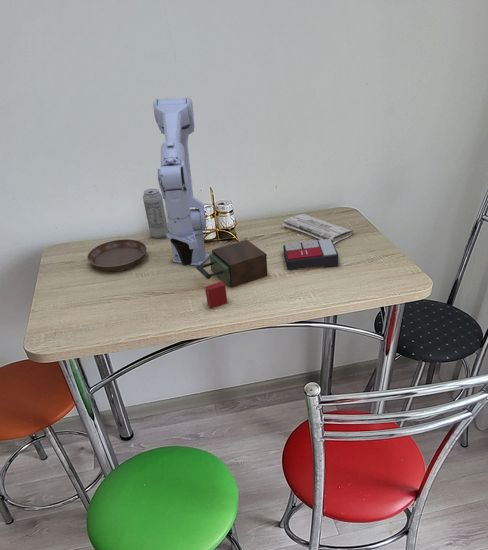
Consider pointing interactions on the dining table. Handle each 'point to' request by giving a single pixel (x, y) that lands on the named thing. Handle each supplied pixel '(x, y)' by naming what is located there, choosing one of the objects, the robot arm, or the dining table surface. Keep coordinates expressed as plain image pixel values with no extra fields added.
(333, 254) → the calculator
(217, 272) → the drawer
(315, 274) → the dining table surface
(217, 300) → the card box
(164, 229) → the energy drink can
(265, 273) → the cabinet
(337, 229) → the newspaper
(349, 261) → the dining table surface
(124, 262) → the plant saucer
